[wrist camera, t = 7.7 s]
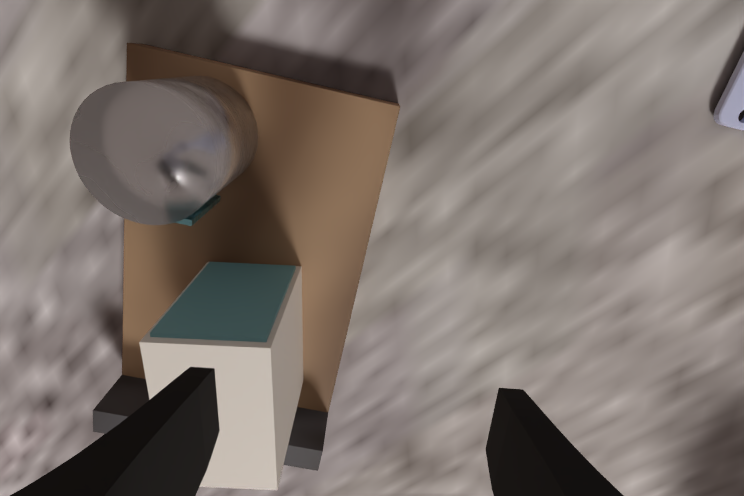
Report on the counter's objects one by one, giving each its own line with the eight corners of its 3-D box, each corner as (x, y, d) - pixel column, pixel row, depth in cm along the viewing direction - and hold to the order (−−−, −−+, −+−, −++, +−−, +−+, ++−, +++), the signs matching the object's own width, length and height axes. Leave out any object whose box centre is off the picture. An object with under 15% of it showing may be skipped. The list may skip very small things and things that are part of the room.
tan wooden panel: (398, 103, 18) (403, 113, 15) (325, 416, 24) (317, 473, 21) (143, 44, 17) (87, 39, 14) (133, 380, 23) (93, 434, 20)
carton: (303, 380, 22) (277, 490, 16) (219, 376, 22) (164, 485, 16) (301, 262, 19) (270, 344, 14) (207, 258, 19) (138, 338, 14)
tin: (264, 89, 17) (221, 101, 12) (251, 195, 18) (208, 240, 14) (154, 64, 16) (67, 65, 12) (150, 173, 18) (72, 212, 13)
